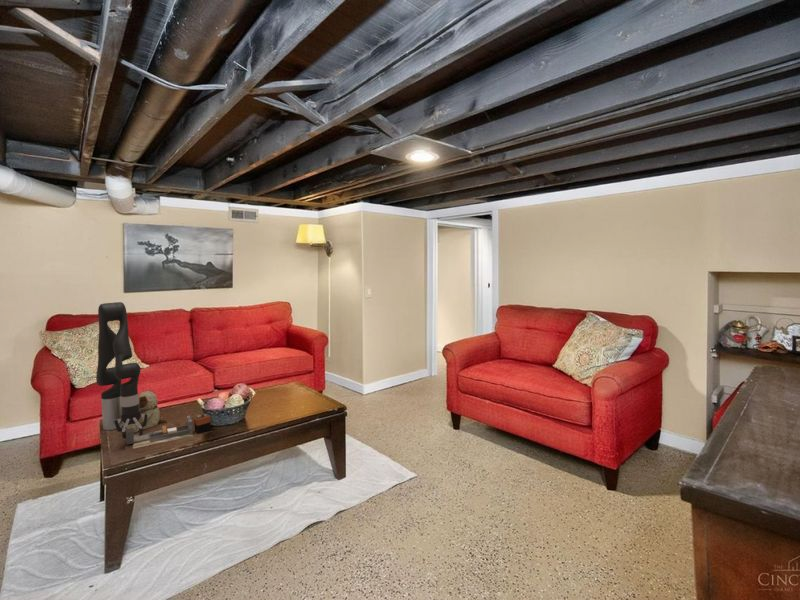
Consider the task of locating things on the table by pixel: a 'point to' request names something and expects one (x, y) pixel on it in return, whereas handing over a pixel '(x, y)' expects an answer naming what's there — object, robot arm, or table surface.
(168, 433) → the marker
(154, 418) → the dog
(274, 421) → the table surface
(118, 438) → the table surface
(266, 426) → the table surface
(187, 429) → the gauge board
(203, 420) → the battery
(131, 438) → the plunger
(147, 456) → the table surface
